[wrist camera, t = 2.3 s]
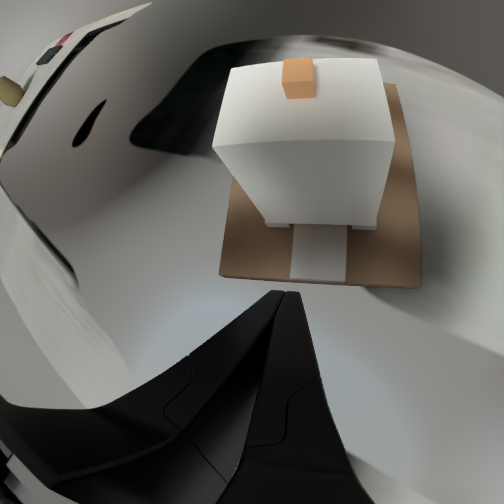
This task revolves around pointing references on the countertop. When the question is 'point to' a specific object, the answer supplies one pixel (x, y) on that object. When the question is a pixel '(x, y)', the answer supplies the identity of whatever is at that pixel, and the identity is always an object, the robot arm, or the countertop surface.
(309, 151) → the block
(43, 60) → the smart home device
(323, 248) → the rail board
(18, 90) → the squeeze bottle
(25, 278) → the countertop surface
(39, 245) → the countertop surface
